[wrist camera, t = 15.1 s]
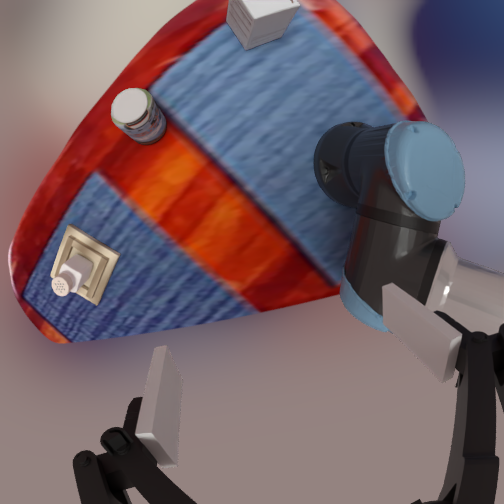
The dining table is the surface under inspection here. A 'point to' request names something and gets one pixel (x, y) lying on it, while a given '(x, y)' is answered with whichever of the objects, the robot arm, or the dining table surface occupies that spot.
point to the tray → (94, 252)
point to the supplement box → (260, 20)
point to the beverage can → (138, 116)
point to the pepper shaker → (72, 275)
